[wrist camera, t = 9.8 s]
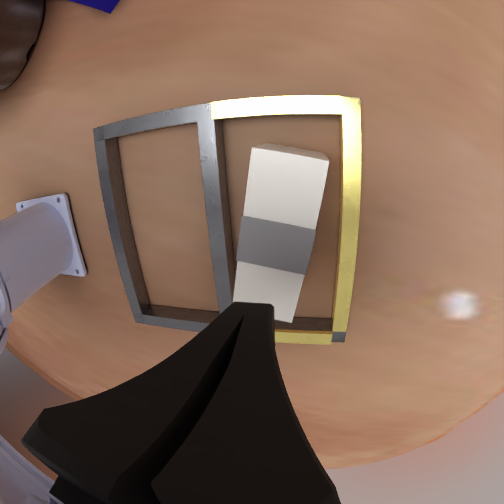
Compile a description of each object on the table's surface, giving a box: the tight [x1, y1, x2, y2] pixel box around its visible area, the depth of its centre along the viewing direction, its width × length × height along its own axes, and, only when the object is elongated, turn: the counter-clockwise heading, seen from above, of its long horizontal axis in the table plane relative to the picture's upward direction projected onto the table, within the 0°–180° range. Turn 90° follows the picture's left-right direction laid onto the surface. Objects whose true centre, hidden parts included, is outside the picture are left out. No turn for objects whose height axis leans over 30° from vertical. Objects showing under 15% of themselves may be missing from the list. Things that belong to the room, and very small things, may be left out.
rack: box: [93, 95, 361, 345], centre depth 18 cm, size 17×16×2 cm
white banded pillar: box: [233, 143, 329, 323], centre depth 16 cm, size 4×9×5 cm, turn 173°
